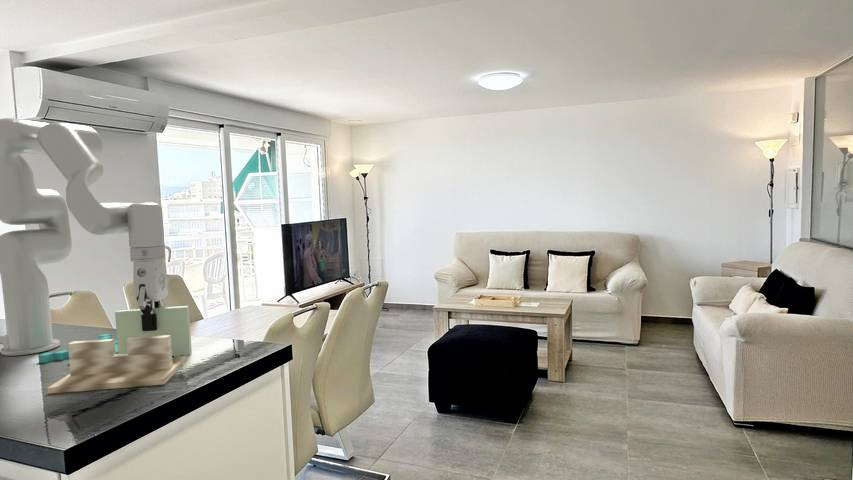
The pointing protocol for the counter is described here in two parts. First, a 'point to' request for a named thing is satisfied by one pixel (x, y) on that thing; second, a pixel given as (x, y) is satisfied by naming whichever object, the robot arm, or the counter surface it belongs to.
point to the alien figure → (65, 354)
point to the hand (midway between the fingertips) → (153, 327)
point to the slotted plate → (167, 324)
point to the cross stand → (118, 364)
